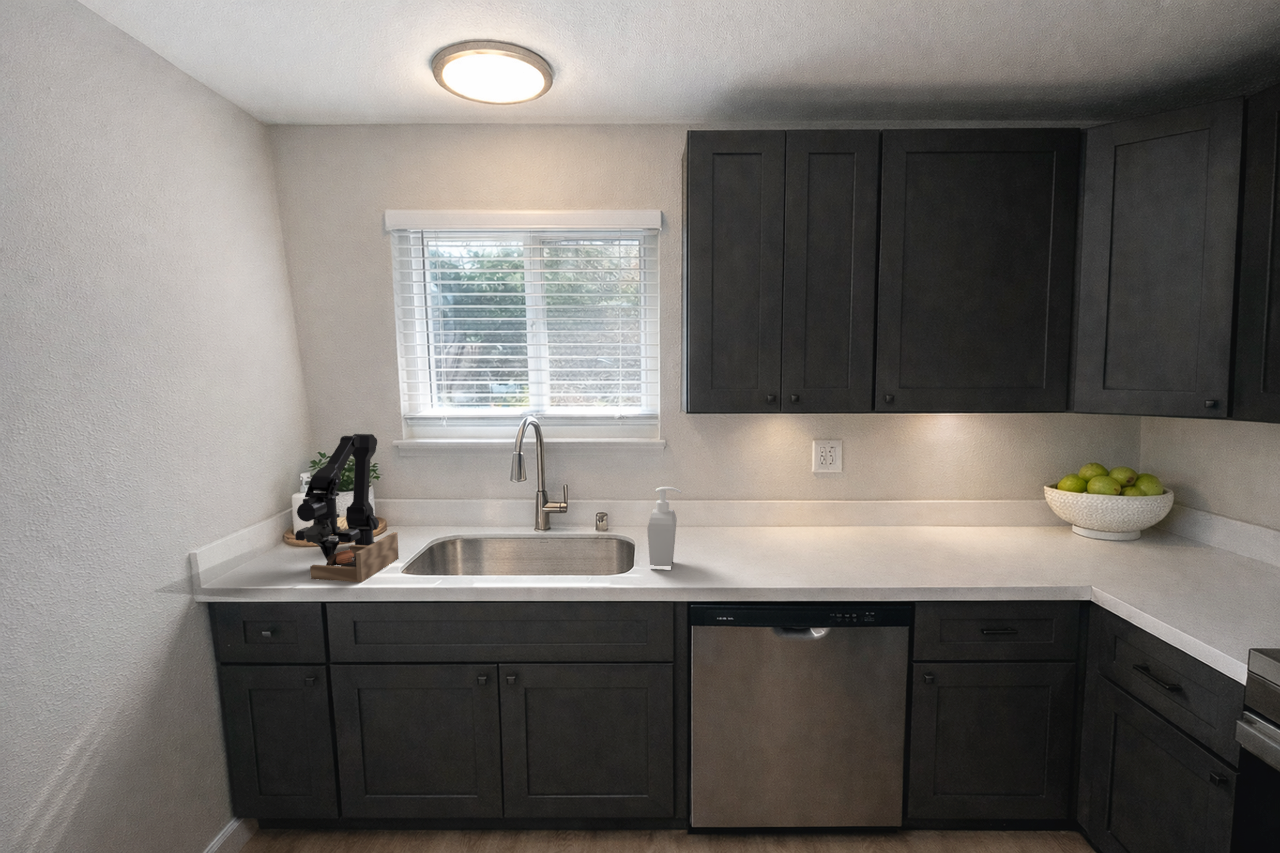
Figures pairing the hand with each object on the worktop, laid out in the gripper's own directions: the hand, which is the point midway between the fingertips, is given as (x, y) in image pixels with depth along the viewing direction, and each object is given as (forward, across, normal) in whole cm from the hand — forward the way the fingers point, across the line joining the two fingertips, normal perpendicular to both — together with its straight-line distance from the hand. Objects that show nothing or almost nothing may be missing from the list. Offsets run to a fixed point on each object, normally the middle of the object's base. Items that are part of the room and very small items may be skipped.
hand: (329, 560), depth 196 cm
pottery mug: (+2, +9, -4) cm, 10 cm away
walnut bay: (+2, +8, 0) cm, 9 cm away
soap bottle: (+2, +105, +16) cm, 107 cm away
